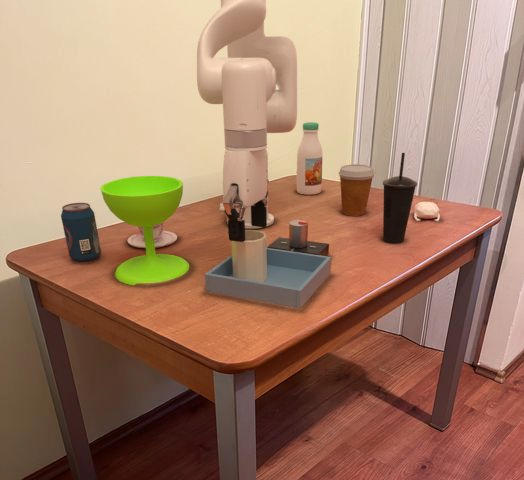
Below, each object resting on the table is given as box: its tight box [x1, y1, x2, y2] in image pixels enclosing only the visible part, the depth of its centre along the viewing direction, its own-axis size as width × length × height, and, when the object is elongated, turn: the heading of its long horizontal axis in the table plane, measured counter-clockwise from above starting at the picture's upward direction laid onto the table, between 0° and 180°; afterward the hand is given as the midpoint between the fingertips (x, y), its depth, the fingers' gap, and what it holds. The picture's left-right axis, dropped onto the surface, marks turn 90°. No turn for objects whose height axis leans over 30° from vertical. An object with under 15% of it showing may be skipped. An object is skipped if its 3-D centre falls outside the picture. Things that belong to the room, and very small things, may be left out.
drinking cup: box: [382, 152, 418, 244], centre depth 124 cm, size 8×8×20 cm
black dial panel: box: [267, 236, 330, 256], centre depth 119 cm, size 12×8×3 cm
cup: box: [230, 229, 268, 282], centre depth 107 cm, size 7×7×9 cm
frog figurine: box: [413, 201, 441, 222], centre depth 143 cm, size 8×7×4 cm
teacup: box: [126, 222, 178, 249], centre depth 130 cm, size 12×12×6 cm
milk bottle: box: [296, 121, 323, 196], centre depth 163 cm, size 8×8×20 cm
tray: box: [204, 248, 332, 309], centre depth 107 cm, size 20×18×4 cm
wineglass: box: [99, 175, 190, 286], centre depth 110 cm, size 16×16×18 cm
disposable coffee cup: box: [338, 163, 376, 217], centre depth 145 cm, size 10×10×12 cm
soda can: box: [60, 202, 102, 265], centre depth 118 cm, size 7×7×12 cm
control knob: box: [288, 219, 309, 248], centre depth 117 cm, size 4×4×5 cm
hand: (248, 233), depth 104 cm, fingers open, 9 cm apart
